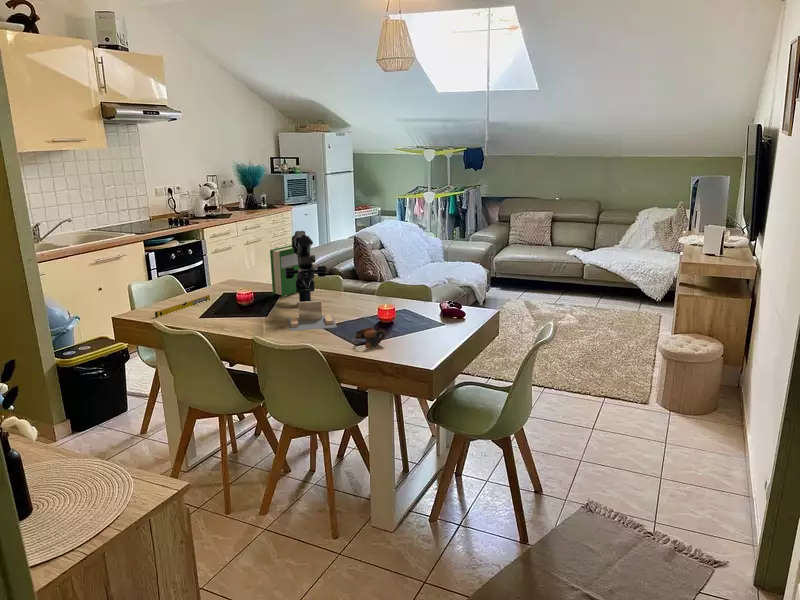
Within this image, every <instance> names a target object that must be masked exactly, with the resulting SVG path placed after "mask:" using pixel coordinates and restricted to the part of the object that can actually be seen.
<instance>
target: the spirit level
mask: <svg viewBox="0 0 800 600" xmlns="http://www.w3.org/2000/svg"><path fill="white" fill-rule="evenodd" d="M210 297H211V296H210V294H206V295H204V296H200V297H197V298H195V299H191V300H189V301H185V302H184V303H179V304H176V305H173V306H172V305H171V306H168V307H166V308H163V309H160V310H156V311H154V315H155V317H154V318H157V317H158V318H160V317H163V316H165V314H166V315H169V314H168V313H170V314H172V313H171V312H173V313H175V312H174V311H176V312H178V311H177V310H179V311H181V310H180V309H182V310H184V309H183V308H185V309H187V308H186V307H188V308H190V307H189V306H191V307H193V306H192V305H194V306H196V305H195V304H197V303H200V302H203V301H206V302H208V301H207V300H209V301H210V300H211V298H210ZM203 303H204V302H203ZM200 304H201V303H200ZM197 305H198V304H197ZM162 315H163V316H162ZM159 316H160V317H159Z"/></svg>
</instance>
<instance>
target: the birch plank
mask: <svg viewBox="0 0 800 600" xmlns="http://www.w3.org/2000/svg"><path fill="white" fill-rule="evenodd" d="M297 303H298V304H297V307H298V317H299V321H300V320H313V319H322V316H323V311H322V310H323V309H322V300H312V301H305V302H299V301H298V302H297Z"/></svg>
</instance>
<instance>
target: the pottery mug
mask: <svg viewBox="0 0 800 600" xmlns="http://www.w3.org/2000/svg"><path fill="white" fill-rule="evenodd" d="M355 334H356V336H355V340H357V339H358V340H361V339H363V340H364V339H365V340H366V342H365V343H364V347H365V349H366V348H369V349H371V348H377V347H378V346H380V344H381V342H382V341H384V340H385V339H386V337H387V333H386V331H385V330H384V329H379V330H375V328H374V327H371V326H369V327H365V328H363V329H359V330H357V331H356V332H355ZM380 335H381V337H380ZM378 348H379V347H378Z"/></svg>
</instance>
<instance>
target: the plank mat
mask: <svg viewBox="0 0 800 600" xmlns="http://www.w3.org/2000/svg"><path fill="white" fill-rule="evenodd" d="M287 323H288V329H289V332H293V331H297V332H298V331H306V330H307V331H308V330H309V331H310V330H319V329H320V330H322V329H333V328H334V329H335V328H338V326H337V323H336V322H335V319H334V316H333V315H332V314H327V315H322V319H313V320H300V321H299V316H297V317H287Z"/></svg>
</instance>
